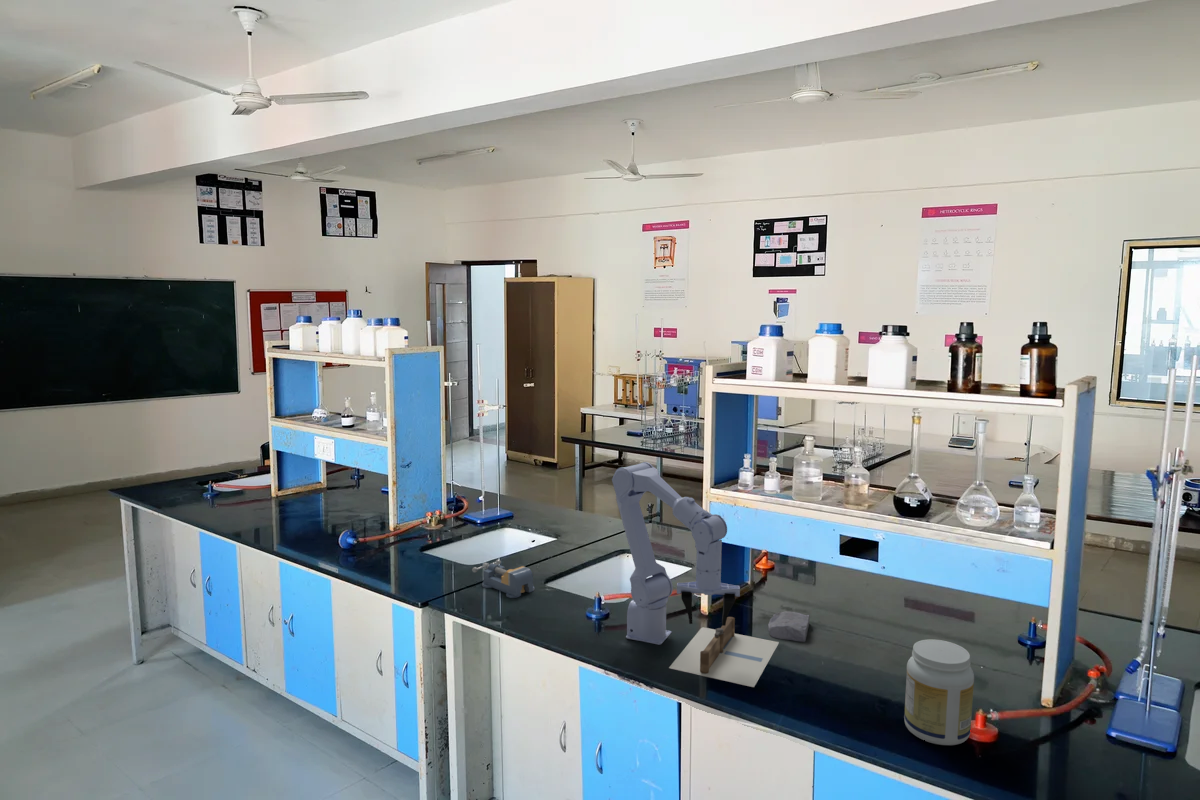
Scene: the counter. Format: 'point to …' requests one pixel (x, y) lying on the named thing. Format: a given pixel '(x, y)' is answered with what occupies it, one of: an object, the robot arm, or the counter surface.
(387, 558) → the counter surface
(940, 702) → the supplement tub
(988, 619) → the counter surface
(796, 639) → the stone block
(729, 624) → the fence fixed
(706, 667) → the swing rail
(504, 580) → the vise
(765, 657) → the board
